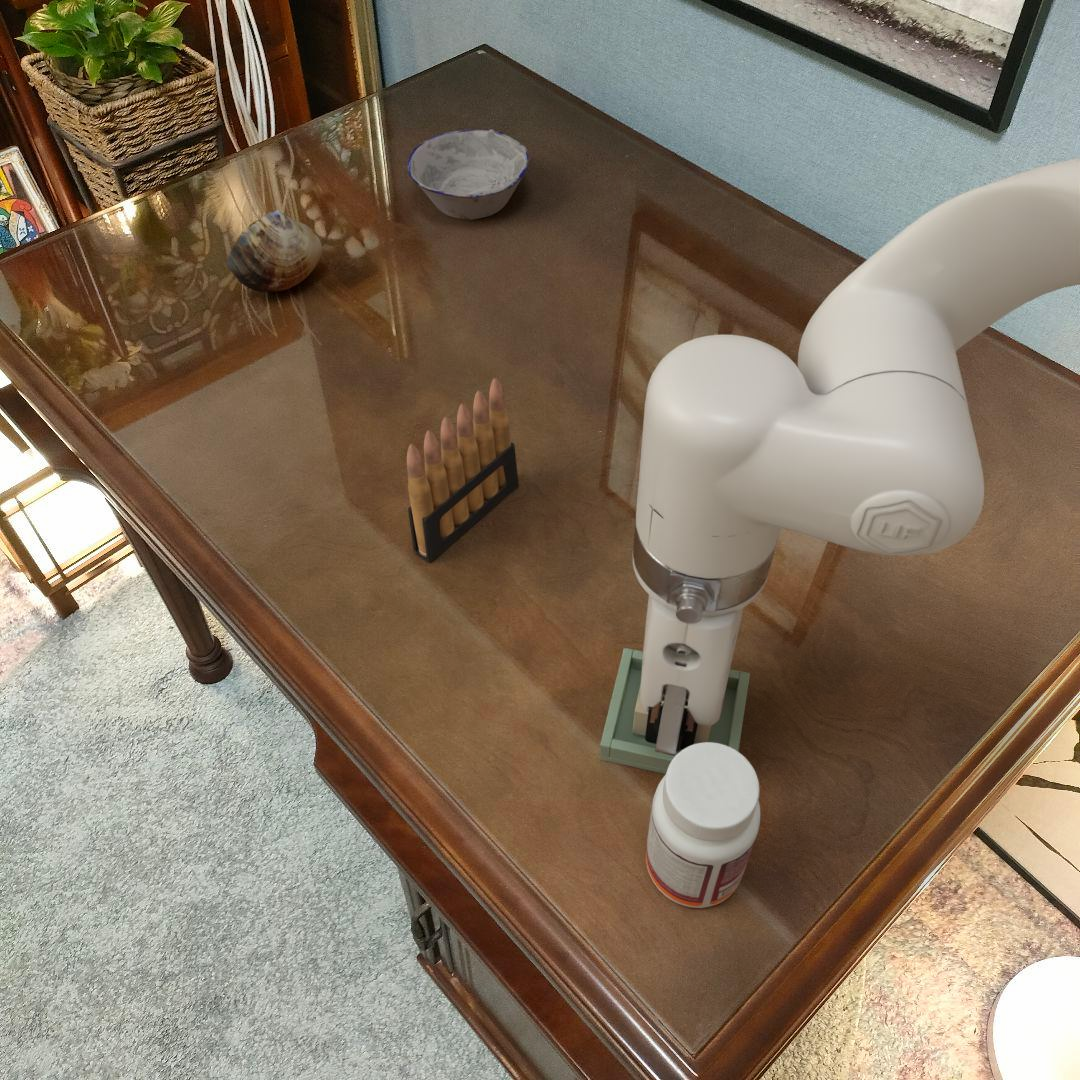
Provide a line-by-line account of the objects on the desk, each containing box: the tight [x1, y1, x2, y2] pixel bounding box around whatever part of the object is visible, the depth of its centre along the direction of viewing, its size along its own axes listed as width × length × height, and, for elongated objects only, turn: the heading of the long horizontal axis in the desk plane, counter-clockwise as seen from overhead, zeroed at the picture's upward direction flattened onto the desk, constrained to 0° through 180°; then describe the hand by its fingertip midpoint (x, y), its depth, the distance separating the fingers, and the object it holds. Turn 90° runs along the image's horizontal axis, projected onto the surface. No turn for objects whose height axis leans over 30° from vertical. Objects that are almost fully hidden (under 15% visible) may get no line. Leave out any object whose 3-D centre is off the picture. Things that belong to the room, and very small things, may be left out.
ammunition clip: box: [406, 376, 520, 563], centre depth 78 cm, size 11×2×12 cm, turn 140°
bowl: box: [406, 128, 530, 220], centre depth 110 cm, size 13×13×5 cm
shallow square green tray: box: [599, 647, 751, 775], centre depth 70 cm, size 9×8×2 cm
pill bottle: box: [645, 742, 761, 909], centre depth 60 cm, size 6×6×11 cm
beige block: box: [633, 685, 711, 744], centre depth 69 cm, size 5×4×3 cm
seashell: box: [226, 209, 323, 293], centre depth 99 cm, size 10×6×8 cm, turn 125°
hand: (675, 711), depth 69 cm, fingers closed on beige block, 3 cm apart
